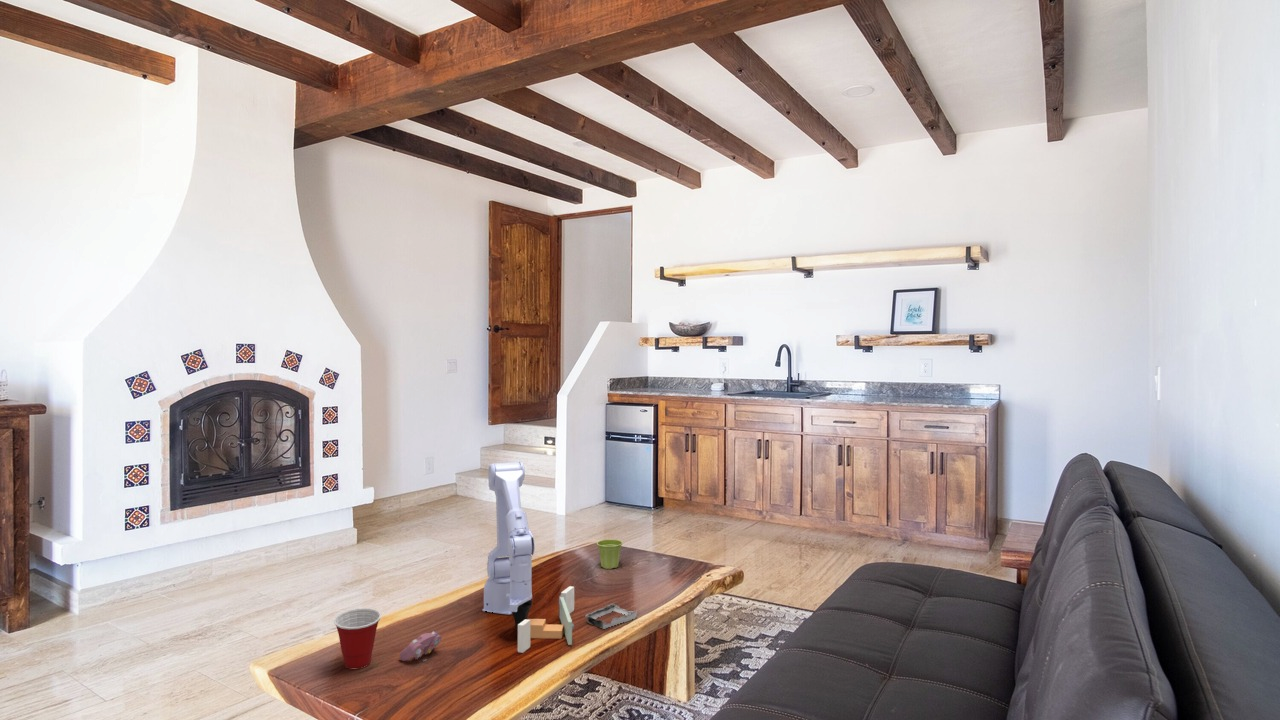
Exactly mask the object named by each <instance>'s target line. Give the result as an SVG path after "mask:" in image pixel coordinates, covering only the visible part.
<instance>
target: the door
mask: <svg viewBox="0 0 1280 720" xmlns="http://www.w3.org/2000/svg"><path fill="white" fill-rule="evenodd" d="M558 618H559V620H560V623H561V625H564V633H563V634H564V635H565V639H566V641H567V644H568V646H572V645H573V630H574V629H575V624H574V623H573V620H572V618H571V613H570V614H569V611H568V608H567V606H566V603H565V600H564V596H561V595H559V596H558Z"/></svg>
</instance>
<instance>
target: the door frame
mask: <svg viewBox="0 0 1280 720" xmlns="http://www.w3.org/2000/svg"><path fill="white" fill-rule="evenodd" d="M560 596H564V600H565V603H566V606H567V608H568V611H569V614H570V615H571V614H572V612H574V611H575V586H571V585H569V586H568V587H567V588H565V589H564V590H562V591H561V593H560ZM527 619H528V618H527ZM527 619H525V620H524V621H522V622H521V623H520V624H518V630H517V653H522V654H524V653H525V652H526V651H527V650H528V649H530V648H531V638H530V620H527Z"/></svg>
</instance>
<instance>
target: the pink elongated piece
mask: <svg viewBox="0 0 1280 720" xmlns="http://www.w3.org/2000/svg"><path fill="white" fill-rule="evenodd" d="M441 641H442V636H441V635H440V634H438V633H437V632H435V631H434V630H433V631H432V632H425V633H422V634H421V635H419V636H418V637H417V638H415V639H413V640H412V641H411V642H409V644H408V645H407V646H406V647H405V648H403V650H401V651H400V653H399V660H400V661H401V660H402V662H406V661H408V660H410V659H411V658H412V657H413V658H414V660H416V659H417V660H419V659H420V658H421V657H422V656H423V654H424V655H426V654H428V653H429V654H431V652H432V651H433V649H434V648H436V647H437V646H438V645H439V644H440V643H441ZM429 654H428V655H429ZM419 657H420V658H419ZM418 658H419V659H418Z"/></svg>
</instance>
